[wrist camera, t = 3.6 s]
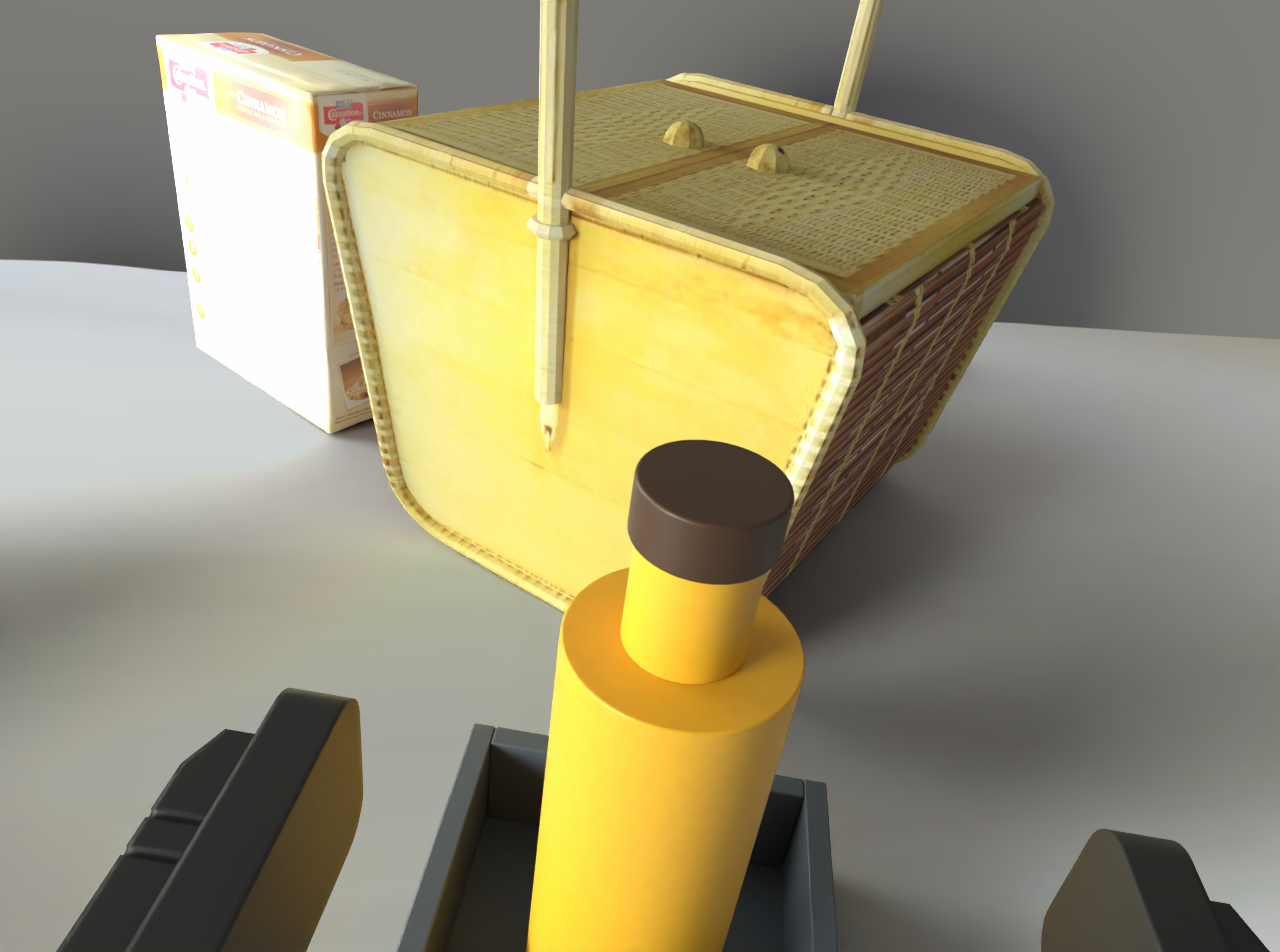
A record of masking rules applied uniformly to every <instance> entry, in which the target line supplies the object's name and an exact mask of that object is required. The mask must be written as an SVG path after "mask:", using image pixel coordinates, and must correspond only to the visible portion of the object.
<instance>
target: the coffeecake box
mask: <svg viewBox="0 0 1280 952" xmlns="http://www.w3.org/2000/svg"><path fill="white" fill-rule="evenodd" d="M156 41H157V49H158V54H159V61H160V69H161V76H162V83H163V92H164V100H165V107H166V113H167V122H168V129H169V138H170V145H171V152H172V160H173V167H174V174H175V182H176V190H177V198H178V205H179V213H180V220H181V228H182V235H183V242H184V249H185V257H186V265H187V273H188V281H189V289H190V296H191V304H192V312H193V319H194V327H195V334H196V343H197V347H198V348H200V349H201V350H203V351H205V352H206V353H208V354H209V355H211V356H212V357H214V358H215V359H217V360H218V361H220V362H221V363H223V364H224V365H226V366H227V367H229V368H230V369H232V370H234V371H235V372H236V373H238V374H239V375H241V376H242V377H244V378H245V379H247V380H248V381H250V382H252V383H253V384H255V385H256V386H258V387H259V388H261V389H262V390H264V391H265V392H267V393H268V394H270V395H271V396H273V397H274V398H276V399H277V400H279V401H280V402H282V403H283V404H285V405H286V406H288V407H289V408H291V409H293V410H294V411H296V412H297V413H298V414H300V415H301V416H303V417H305V418H306V419H308V420H309V421H311V422H312V423H314V424H315V425H317V426H318V427H320V428H321V429H323V430H324V431H326V432H327V433H329V434H330V433H334V432H336V431H339V430H341V429H344V428H347V427H349V426H352V425H354V424H357V423H359V422H362V421H365V420H368V419H371V418H373V415H372V410H371V406H370V401H369V396H368V392H367V387H366V382H365V377H364V373H363V368H362V363H361V359H360V354H359V349H358V344H357V340H356V335H355V330H354V326H353V321H352V316H351V311H350V307H349V302H348V297H347V293H346V288H345V283H344V278H343V274H342V269H341V264H340V260H339V255H338V250H337V245H336V241H335V236H334V231H333V227H332V222H331V217H330V212H329V208H328V203H327V198H326V194H325V189H324V184H323V179H322V156H321V155H322V152H323V150H324V148H325V145H326V143H327V141H328V138H329V136H330V135H331V134H332V133H333V132H334V131H336V130H338V129H339V128H341V127H343V126H345V125H347V124H348V123H350V122H352V121H355V122H366V123H378V122H385V121H391V120H398V119H404V118H411V117H418V85H415V84H412V83H409V82H406V81H403V80H400V79H397V78H394V77H391V76H388V75H385V74H382V73H379V72H376V71H372V70H369V69H366V68H363V67H360V66H357V65H354V64H351V63H348V62H345V61H342V60H339V59H337V58H333V57H331V56H328V55H325V54H322V53H319V52H316V51H313V50H310V49H307V48H304V47H301V46H298V45H295V44H292V43H289V42H285V41H282V40H279V39H277V38H274V37H271V36H268V35H265V34H262V33H206V34H183V35H157V36H156Z"/></svg>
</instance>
